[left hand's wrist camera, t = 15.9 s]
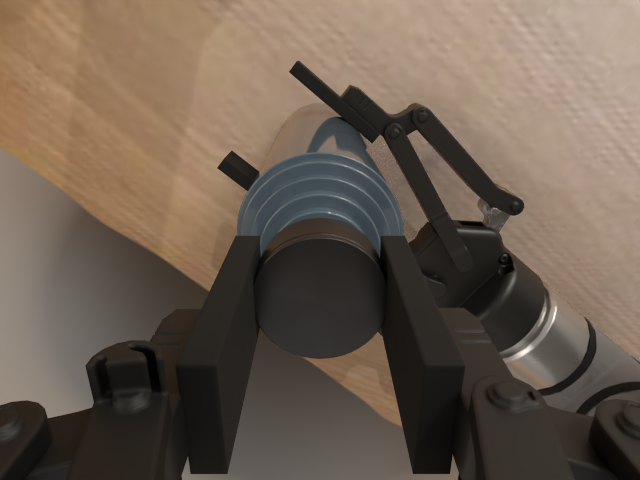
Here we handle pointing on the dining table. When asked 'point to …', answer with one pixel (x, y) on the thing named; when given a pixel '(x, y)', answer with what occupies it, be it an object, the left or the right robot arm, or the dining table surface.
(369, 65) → the dining table surface
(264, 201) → the bottle
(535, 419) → the left robot arm
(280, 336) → the cap
